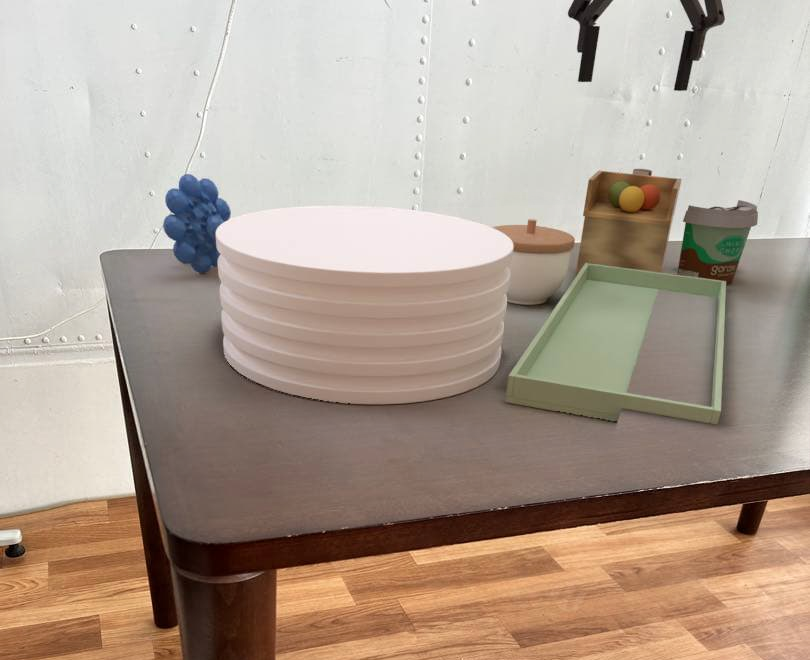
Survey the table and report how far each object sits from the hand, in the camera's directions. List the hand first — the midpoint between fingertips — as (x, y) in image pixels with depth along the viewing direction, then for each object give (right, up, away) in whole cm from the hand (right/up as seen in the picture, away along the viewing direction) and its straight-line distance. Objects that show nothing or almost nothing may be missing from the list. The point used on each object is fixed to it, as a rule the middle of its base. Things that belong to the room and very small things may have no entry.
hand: (631, 86), depth 109 cm
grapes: (-55, -26, -4) cm, 61 cm away
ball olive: (-1, -14, +2) cm, 14 cm away
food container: (+14, -24, +7) cm, 28 cm away
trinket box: (-15, -30, -5) cm, 34 cm away
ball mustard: (0, -15, -1) cm, 15 cm away
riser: (0, -23, +6) cm, 24 cm away
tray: (-5, -39, -18) cm, 43 cm away
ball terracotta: (+2, -14, +1) cm, 15 cm away
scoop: (+1, -15, +4) cm, 16 cm away
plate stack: (-34, -41, -25) cm, 59 cm away
